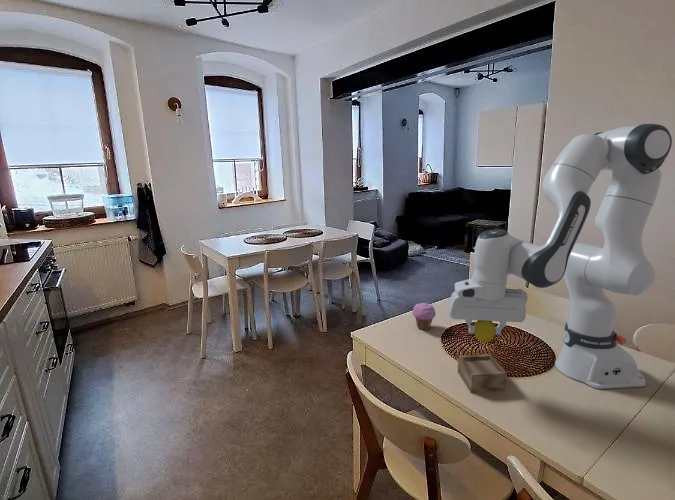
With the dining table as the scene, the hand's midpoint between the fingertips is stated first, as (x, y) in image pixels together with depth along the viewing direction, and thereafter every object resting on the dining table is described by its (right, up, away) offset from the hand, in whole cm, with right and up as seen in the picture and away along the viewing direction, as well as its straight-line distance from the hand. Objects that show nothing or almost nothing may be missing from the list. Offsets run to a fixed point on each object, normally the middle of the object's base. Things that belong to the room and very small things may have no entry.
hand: (484, 333), depth 103 cm
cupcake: (-8, -7, +38) cm, 39 cm away
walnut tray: (+1, -16, +4) cm, 16 cm away
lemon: (0, -3, +1) cm, 3 cm away
